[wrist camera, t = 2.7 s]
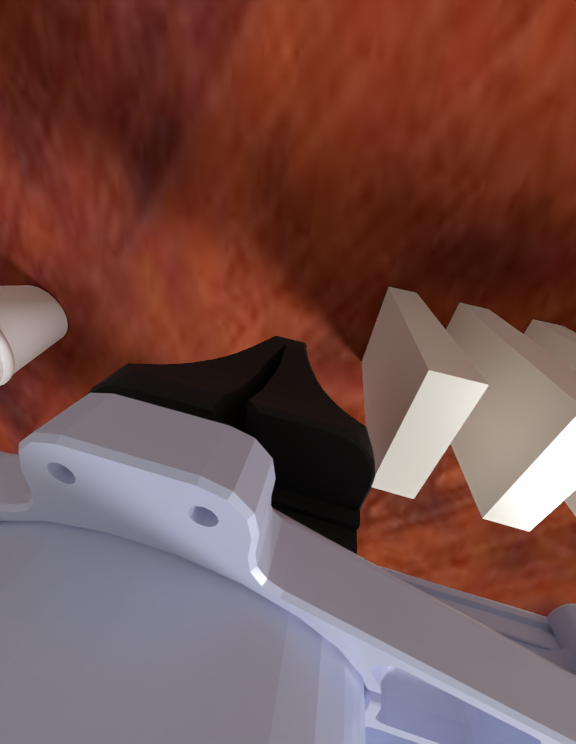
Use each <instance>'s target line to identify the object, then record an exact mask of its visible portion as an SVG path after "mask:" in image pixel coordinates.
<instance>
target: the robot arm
mask: <svg viewBox="0 0 576 744" xmlns="http://www.w3.org/2000/svg"><path fill="white" fill-rule="evenodd" d="M306 347H307V346H306V344H305V343H303V342H299V341H295V340H291V339H287V338H283V337H279V336H274V337H272V338H270V339H268V340H266V341H264V342H262V343H260V344H258V345H255V346H253V347H251V348H248V349H246V350H243V351H241V352H238V353H235V354H232V355H229V356H225V357H221V358H217V359H213V360H206V361H200V362H194V363H183V364H161V365H158V364H129V363H128V364H127V365H125V366H124V367H122V368H121V369H119V370H118V371H116V372H115V373H113V374H112V375H110V376H109V377H107V378H106V379H105V380H103V381H102V382H100V383H99V384H97V385H96V386H94V387H93V388H92V389H91V390H90V392H89V393H88V394H87V395H86V396H85V397H83V398H82V399H80V400H79V401H78V402H76V403H75V404H73V405H72V406H70V407H69V408H67V409H66V410H65V411H63V412H62V413H60V414H59V415H57V416H56V417H54V418H53V419H52V420H50V421H49V422H47V423H46V424H44V425H43V426H42V427H40V428H39V429H37V430H36V431H34V432H33V433H32V434H30V435H29V436H28V437H26V438H25V439H24V440H22V441H21V442H20V443H19V454H9V453H6V452H2V451H0V744H576V604H565V605H562V606H559V607H558V608H556V609H554V610H553V611H552V612H551V613H550V614H549V615H548V616H547V617H545V616H541V615H538V614H535V613H532V612H528V611H525V610H522V609H518V608H515V607H512V606H509V605H505V604H502V603H499V602H495V601H492V600H489V599H486V598H482V597H479V596H476V595H472V594H469V593H466V592H463V591H459V590H456V589H453V588H449V587H446V586H443V585H440V584H436V583H433V582H430V581H426V580H423V579H420V578H417V577H413V576H410V575H407V574H403V573H400V572H397V571H394V570H390V569H387V568H384V567H380V566H377V565H375V564H373V563H371V562H370V561H368V560H366V559H364V558H362V557H360V556H359V555H357V529H358V528H359V525H360V508H361V506H362V504H363V502H364V500H365V498H366V496H367V494H368V493H369V491H370V489H371V487H372V485H373V481H374V478H375V475H376V474H375V459H374V453H373V449H372V445H371V441H370V438H369V434H368V431H367V428H366V426H364V425H363V424H361V423H360V422H358V421H357V420H355V419H354V418H353V417H351V416H350V415H348V414H347V413H346V412H345V411H343V410H342V409H341V408H340V407H339V406H338V405H337V404H336V403H335V402H334V401H333V400H332V399H331V398H330V397H329V396H328V395H327V394H326V393H325V391H324V390H323V389H322V387H321V386H320V384H319V383H318V381H317V379H316V377H315V375H314V373H313V371H312V368H311V366H310V363H309V360H308V356H307V351H306Z"/></svg>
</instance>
